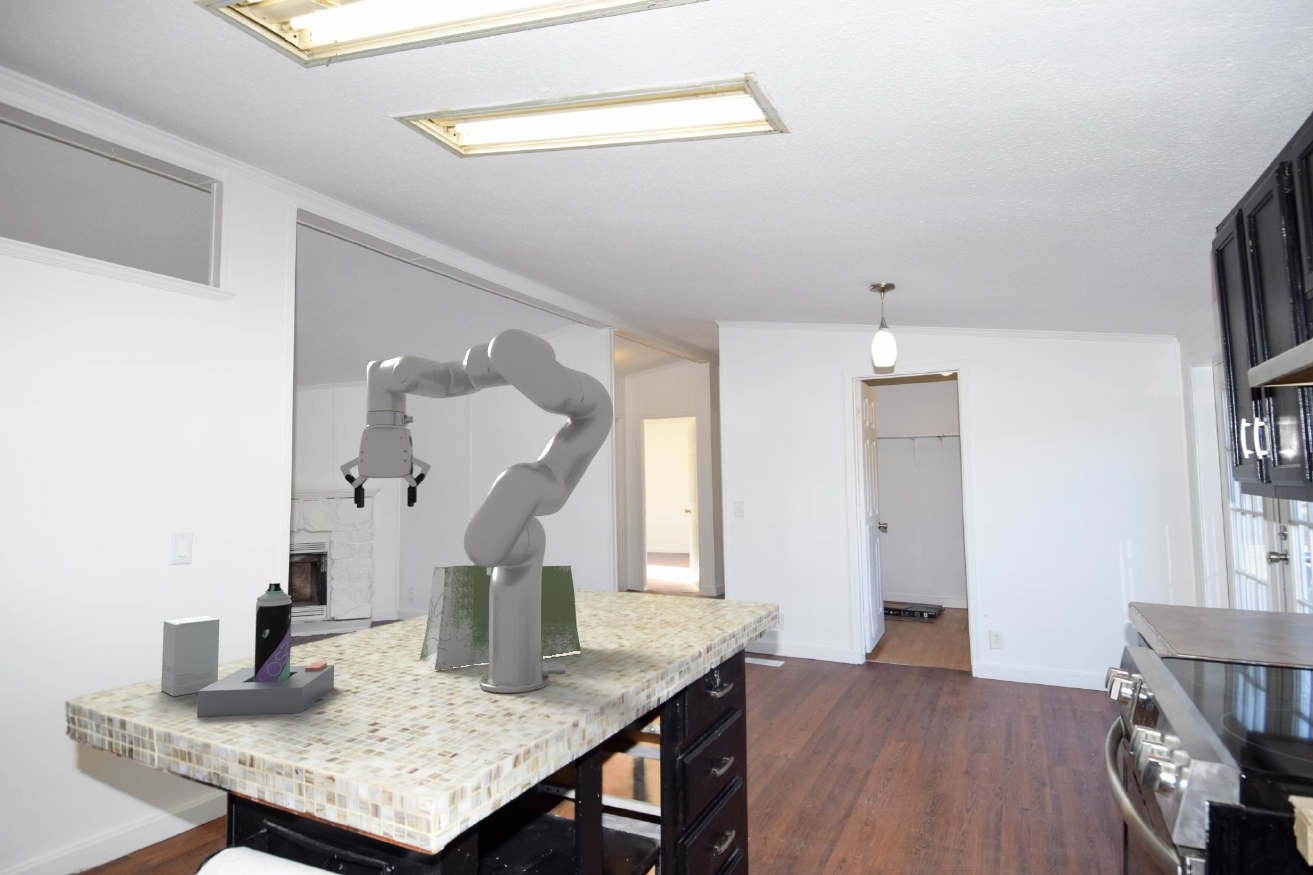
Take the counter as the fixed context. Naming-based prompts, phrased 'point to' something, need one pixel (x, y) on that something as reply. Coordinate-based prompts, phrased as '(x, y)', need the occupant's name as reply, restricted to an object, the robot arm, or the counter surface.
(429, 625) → the grocery bag
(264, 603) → the spray can
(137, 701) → the counter surface
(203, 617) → the supplement box
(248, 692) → the socket plate
